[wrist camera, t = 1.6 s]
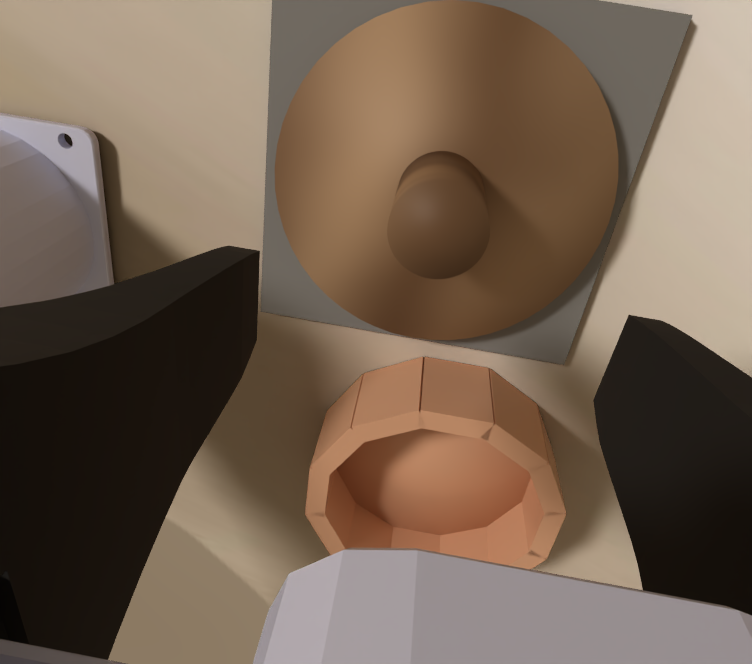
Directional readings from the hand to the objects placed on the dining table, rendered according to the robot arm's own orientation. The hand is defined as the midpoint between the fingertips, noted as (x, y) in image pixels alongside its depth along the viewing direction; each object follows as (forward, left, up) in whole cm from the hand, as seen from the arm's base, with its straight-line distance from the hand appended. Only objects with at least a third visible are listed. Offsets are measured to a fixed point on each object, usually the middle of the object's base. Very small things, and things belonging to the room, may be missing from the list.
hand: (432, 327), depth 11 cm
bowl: (+2, -12, -10) cm, 16 cm away
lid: (0, 0, -10) cm, 10 cm away
